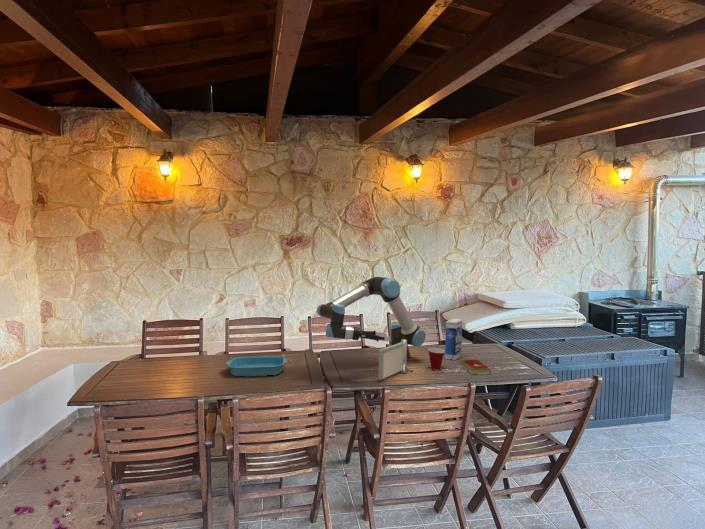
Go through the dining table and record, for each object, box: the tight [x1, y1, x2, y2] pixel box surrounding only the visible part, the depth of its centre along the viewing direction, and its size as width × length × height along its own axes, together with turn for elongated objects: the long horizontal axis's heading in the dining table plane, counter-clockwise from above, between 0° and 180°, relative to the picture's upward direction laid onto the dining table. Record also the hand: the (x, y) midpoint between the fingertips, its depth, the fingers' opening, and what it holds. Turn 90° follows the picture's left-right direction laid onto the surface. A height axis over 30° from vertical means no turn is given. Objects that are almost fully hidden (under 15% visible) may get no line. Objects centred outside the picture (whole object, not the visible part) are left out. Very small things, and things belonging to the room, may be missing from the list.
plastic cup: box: [427, 347, 445, 370], centre depth 296 cm, size 11×11×12 cm
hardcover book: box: [459, 358, 492, 375], centre depth 295 cm, size 12×21×4 cm, turn 6°
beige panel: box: [377, 343, 403, 380], centre depth 278 cm, size 23×2×17 cm, turn 142°
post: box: [398, 339, 414, 375], centre depth 289 cm, size 8×8×20 cm
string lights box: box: [444, 318, 463, 361], centre depth 321 cm, size 13×8×26 cm, turn 148°
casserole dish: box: [225, 355, 288, 377], centre depth 286 cm, size 37×22×7 cm, turn 95°
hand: (388, 337), depth 276 cm, fingers open, 13 cm apart
